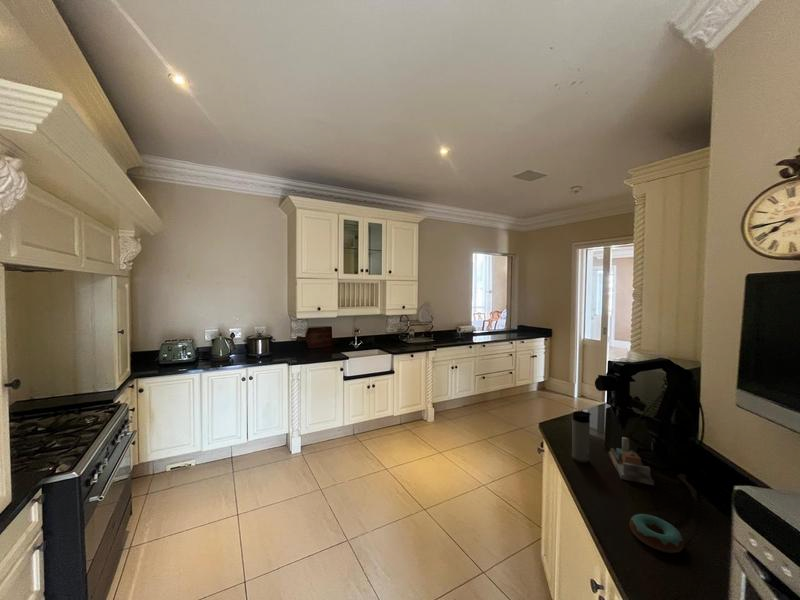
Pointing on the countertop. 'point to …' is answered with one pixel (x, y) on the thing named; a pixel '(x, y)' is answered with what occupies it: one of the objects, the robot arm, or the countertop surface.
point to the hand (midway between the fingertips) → (621, 426)
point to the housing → (631, 458)
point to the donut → (656, 533)
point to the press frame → (631, 470)
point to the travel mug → (580, 436)
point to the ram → (623, 448)
